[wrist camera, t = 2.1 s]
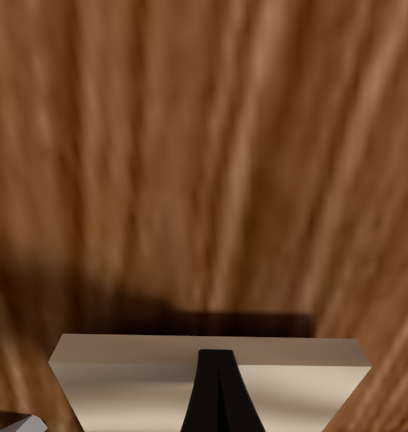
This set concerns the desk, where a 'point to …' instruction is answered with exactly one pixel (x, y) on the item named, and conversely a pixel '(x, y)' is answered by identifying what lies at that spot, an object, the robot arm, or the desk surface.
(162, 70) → the desk surface
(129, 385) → the board
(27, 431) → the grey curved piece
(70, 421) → the desk surface
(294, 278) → the desk surface
